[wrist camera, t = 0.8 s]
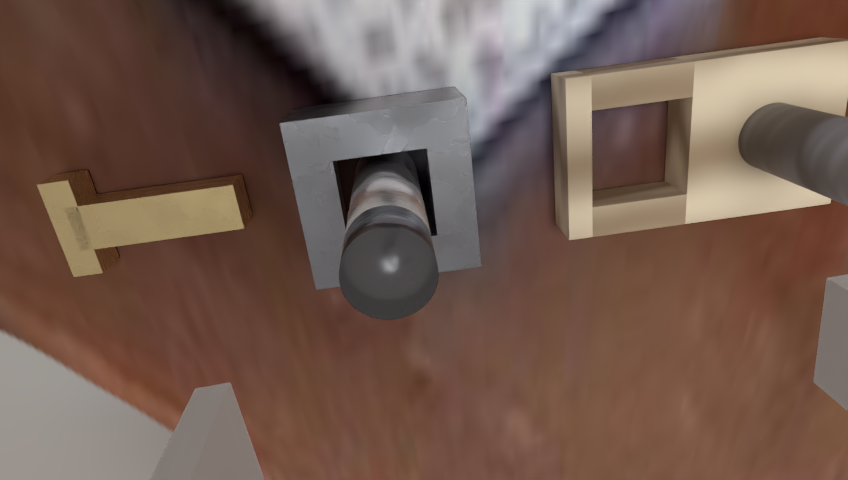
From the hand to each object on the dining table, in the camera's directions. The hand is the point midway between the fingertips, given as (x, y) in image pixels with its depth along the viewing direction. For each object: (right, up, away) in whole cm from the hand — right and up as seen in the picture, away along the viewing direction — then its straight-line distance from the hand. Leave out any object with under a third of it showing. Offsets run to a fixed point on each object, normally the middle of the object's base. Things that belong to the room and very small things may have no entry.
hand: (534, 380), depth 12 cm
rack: (+14, +10, +24) cm, 30 cm away
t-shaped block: (-19, +5, +24) cm, 31 cm away
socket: (-5, +7, +24) cm, 25 cm away
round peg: (-5, +7, +24) cm, 25 cm away
